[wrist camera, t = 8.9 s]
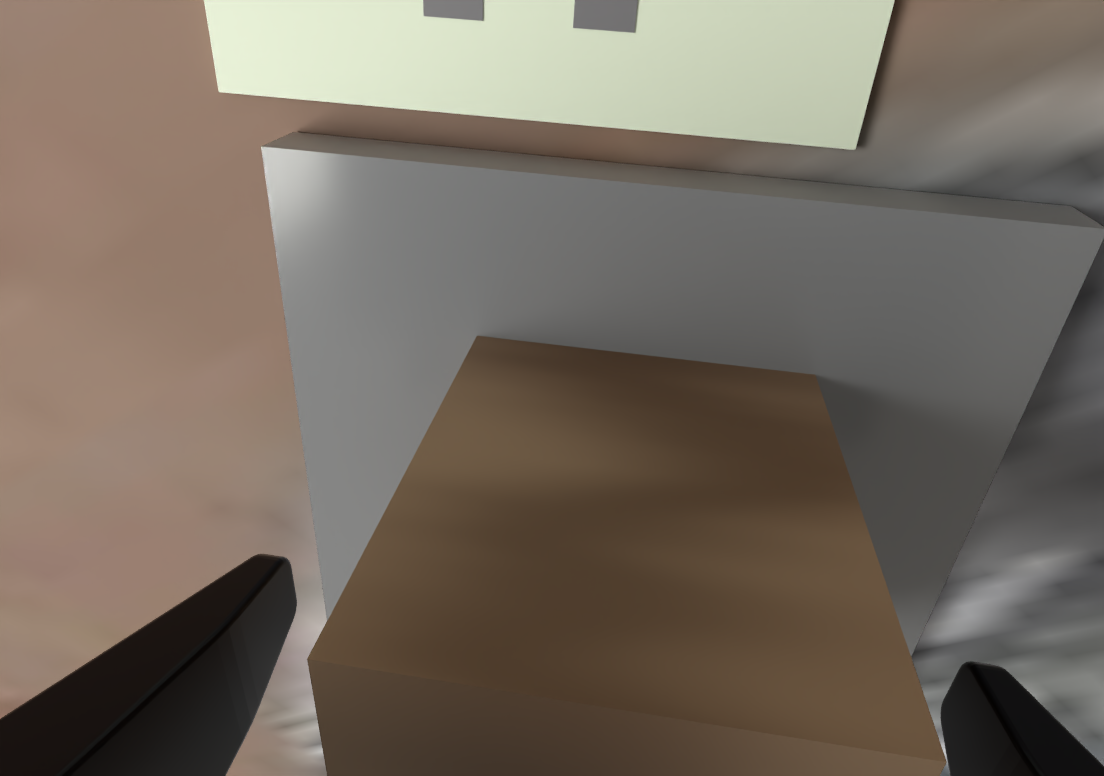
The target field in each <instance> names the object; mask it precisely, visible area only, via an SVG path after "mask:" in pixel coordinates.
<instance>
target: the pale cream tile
mask: <svg viewBox="0 0 1104 776" xmlns="http://www.w3.org/2000/svg"><path fill="white" fill-rule="evenodd" d="M894 1H895V0H204V3H205V9H206V16H207V22H208V28H209V34H210V40H211V46H212V53H213V59H214V65H215V71H216V77H217V84H218V90H219V92H224V93H235V94H246V95H257V96H268V97H279V98H290V99H301V100H312V101H323V102H334V103H345V104H356V105H367V106H378V107H389V108H400V109H411V110H422V111H433V112H444V113H455V114H466V115H477V116H488V117H499V118H510V119H521V120H532V121H543V122H554V123H565V124H576V125H587V126H598V127H609V128H620V129H631V130H642V131H653V132H664V133H675V134H686V135H697V136H708V137H719V138H730V139H741V140H752V141H763V142H774V143H785V144H796V145H807V146H818V147H829V148H840V149H851V150H855V149H856V145H857V142H858V138H859V134H860V130H861V126H862V123H863V119H864V115H865V111H866V108H867V104H868V100H869V96H870V92H871V89H872V85H873V81H874V77H875V73H876V70H877V66H878V62H879V58H880V54H881V51H882V47H883V43H884V39H885V36H886V32H887V28H888V24H889V20H890V17H891V13H892V9H893V5H894Z"/></svg>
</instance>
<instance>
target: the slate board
mask: <svg viewBox="0 0 1104 776" xmlns="http://www.w3.org/2000/svg"><path fill="white" fill-rule="evenodd" d="M261 149H262V156H263V163H264V170H265V177H266V185H267V192H268V199H269V206H270V213H271V221H272V228H273V235H274V242H275V249H276V257H277V264H278V271H279V278H280V285H281V292H282V300H283V307H284V314H285V321H286V328H287V336H288V343H289V350H290V357H291V364H292V372H293V379H294V386H295V393H296V400H297V407H298V415H299V422H300V429H301V436H302V443H303V451H304V458H305V465H306V472H307V479H308V487H309V494H310V501H311V508H312V515H313V522H314V530H315V537H316V544H317V551H318V558H319V566H320V573H321V580H322V587H323V594H324V602H325V609H326V616H327V621H328V619H329V617H330V615H331V613H332V611H333V609H334V607H335V605H336V603H337V602H338V600H339V598H340V596H341V594H342V592H343V590H344V588H345V586H346V584H347V582H348V581H349V579H350V577H351V575H352V573H353V571H354V569H355V567H356V565H357V563H358V561H359V560H360V558H361V556H362V554H363V552H364V550H365V548H366V546H367V544H368V542H369V540H370V539H371V537H372V535H373V533H374V531H375V529H376V527H377V525H378V523H379V521H380V520H381V518H382V516H383V514H384V512H385V510H386V508H387V506H388V504H389V502H390V500H391V499H392V497H393V495H394V493H395V491H396V489H397V487H398V485H399V483H400V481H401V479H402V478H403V476H404V474H405V472H406V470H407V468H408V466H409V464H410V462H411V460H412V459H413V457H414V455H415V453H416V451H417V449H418V447H419V445H420V443H421V441H422V439H423V438H424V436H425V434H426V432H427V430H428V428H429V426H430V424H431V422H432V420H433V418H434V417H435V415H436V413H437V411H438V409H439V407H440V405H441V403H442V401H443V399H444V397H445V396H446V394H447V392H448V390H449V388H450V386H451V384H452V382H453V380H454V378H455V377H456V375H457V373H458V371H459V369H460V367H461V365H462V363H463V361H464V359H465V357H466V356H467V354H468V352H469V350H470V348H471V346H472V344H473V342H474V340H475V338H476V336H484V337H493V338H501V339H510V340H519V341H527V342H536V343H545V344H553V345H562V346H571V347H579V348H588V349H597V350H605V351H614V352H623V353H632V354H640V355H649V356H658V357H666V358H675V359H684V360H692V361H701V362H710V363H718V364H727V365H736V366H744V367H753V368H762V369H770V370H779V371H788V372H796V373H805V374H814V375H816V378H817V381H818V384H819V387H820V390H821V393H822V396H823V399H824V402H825V405H826V408H827V411H828V414H829V416H830V419H831V422H832V425H833V428H834V431H835V434H836V437H837V440H838V443H839V446H840V449H841V452H842V455H843V458H844V461H845V464H846V467H847V470H848V473H849V476H850V478H851V481H852V484H853V487H854V490H855V493H856V496H857V499H858V502H859V505H860V508H861V511H862V514H863V517H864V520H865V523H866V526H867V529H868V532H869V535H870V537H871V540H872V543H873V546H874V549H875V552H876V555H877V558H878V561H879V564H880V567H881V570H882V573H883V576H884V579H885V582H886V585H887V588H888V591H889V594H890V597H891V599H892V602H893V605H894V608H895V611H896V614H897V617H898V620H899V623H900V626H901V629H902V632H903V635H904V638H905V641H906V644H907V647H908V650H909V653H910V656H912V654H913V652H914V650H915V648H916V646H917V643H918V641H919V639H920V637H921V635H922V632H923V630H924V628H925V626H926V624H927V622H928V619H929V617H930V615H931V613H932V611H933V609H934V606H935V604H936V602H937V600H938V598H939V596H940V593H941V591H942V589H943V587H944V585H945V582H946V580H947V578H948V576H949V574H950V572H951V569H952V567H953V565H954V563H955V561H956V559H957V556H958V554H959V552H960V550H961V548H962V546H963V543H964V541H965V539H966V537H967V535H968V532H969V530H970V528H971V526H972V524H973V522H974V519H975V517H976V515H977V513H978V511H979V509H980V506H981V504H982V502H983V500H984V498H985V496H986V493H987V491H988V489H989V487H990V485H991V482H992V480H993V478H994V476H995V474H996V472H997V469H998V467H999V465H1000V463H1001V461H1002V459H1003V456H1004V454H1005V452H1006V450H1007V448H1008V446H1009V443H1010V441H1011V439H1012V437H1013V435H1014V432H1015V430H1016V428H1017V426H1018V424H1019V422H1020V419H1021V417H1022V415H1023V413H1024V411H1025V409H1026V406H1027V404H1028V402H1029V400H1030V398H1031V396H1032V393H1033V391H1034V389H1035V387H1036V385H1037V382H1038V380H1039V378H1040V376H1041V374H1042V372H1043V369H1044V367H1045V365H1046V363H1047V361H1048V359H1049V356H1050V354H1051V352H1052V350H1053V348H1054V346H1055V343H1056V341H1057V339H1058V337H1059V335H1060V332H1061V330H1062V328H1063V326H1064V324H1065V322H1066V319H1067V317H1068V315H1069V313H1070V311H1071V309H1072V306H1073V304H1074V302H1075V300H1076V298H1077V295H1078V293H1079V291H1080V289H1081V287H1082V285H1083V282H1084V280H1085V278H1086V276H1087V274H1088V272H1089V269H1090V267H1091V265H1092V263H1093V261H1094V259H1095V256H1096V254H1097V252H1098V250H1099V248H1100V245H1101V243H1102V241H1103V239H1104V226H1102V225H1100V224H1099V223H1097V222H1096V221H1094V220H1092V219H1091V218H1089V217H1087V216H1086V215H1084V214H1083V213H1081V212H1079V211H1078V210H1076V209H1075V208H1073V207H1071V206H1065V205H1055V204H1044V203H1034V202H1023V201H1013V200H1002V199H992V198H981V197H971V196H960V195H950V194H939V193H929V192H918V191H908V190H897V189H887V188H876V187H866V186H855V185H845V184H834V183H824V182H814V181H803V180H793V179H782V178H772V177H761V176H751V175H740V174H730V173H719V172H709V171H698V170H688V169H677V168H667V167H656V166H646V165H635V164H625V163H614V162H604V161H593V160H583V159H572V158H562V157H551V156H541V155H530V154H520V153H509V152H499V151H488V150H478V149H467V148H457V147H446V146H436V145H425V144H415V143H404V142H394V141H383V140H373V139H362V138H352V137H342V136H331V135H321V134H310V133H300V132H292V133H290V134H288V135H286V136H283V137H281V138H279V139H277V140H275V141H272V142H270V143H268V144H266V145H264V146H261Z"/></svg>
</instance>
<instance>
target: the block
mask: <svg viewBox="0 0 1104 776" xmlns="http://www.w3.org/2000/svg"><path fill="white" fill-rule="evenodd" d="M307 660H308V666H309V672H310V678H311V684H312V689H313V695H314V701H315V707H316V713H317V719H318V724H319V730H320V736H321V742H322V748H323V754H324V759H325V765H326V771H327V776H939V775H940V774H941V772H942V770H943V768H944V766H945V765H946V763H947V762H946V759H945V756H944V753H943V750H942V747H941V744H940V741H939V738H938V735H937V732H936V729H935V726H934V723H933V720H932V718H931V715H930V712H929V709H928V706H927V703H926V700H925V697H924V694H923V691H922V688H921V685H920V682H919V679H918V676H917V673H916V670H915V667H914V664H913V661H912V658H911V656H910V653H909V650H908V647H907V644H906V641H905V638H904V635H903V632H902V629H901V626H900V623H899V620H898V617H897V614H896V611H895V608H894V605H893V602H892V599H891V597H890V594H889V591H888V588H887V585H886V582H885V579H884V576H883V573H882V570H881V567H880V564H879V561H878V558H877V555H876V552H875V549H874V546H873V543H872V540H871V537H870V535H869V532H868V529H867V526H866V523H865V520H864V517H863V514H862V511H861V508H860V505H859V502H858V499H857V496H856V493H855V490H854V487H853V484H852V481H851V478H850V476H849V473H848V470H847V467H846V464H845V461H844V458H843V455H842V452H841V449H840V446H839V443H838V440H837V437H836V434H835V431H834V428H833V425H832V422H831V419H830V416H829V414H828V411H827V408H826V405H825V402H824V399H823V396H822V393H821V390H820V387H819V384H818V381H817V378H816V375H814V374H805V373H796V372H788V371H779V370H770V369H762V368H753V367H744V366H736V365H727V364H718V363H710V362H701V361H692V360H684V359H675V358H666V357H658V356H649V355H640V354H632V353H623V352H614V351H605V350H597V349H588V348H579V347H571V346H562V345H553V344H545V343H536V342H527V341H519V340H510V339H501V338H493V337H484V336H476V338H475V340H474V342H473V344H472V346H471V348H470V350H469V352H468V354H467V356H466V357H465V359H464V361H463V363H462V365H461V367H460V369H459V371H458V373H457V375H456V377H455V378H454V380H453V382H452V384H451V386H450V388H449V390H448V392H447V394H446V396H445V397H444V399H443V401H442V403H441V405H440V407H439V409H438V411H437V413H436V415H435V417H434V418H433V420H432V422H431V424H430V426H429V428H428V430H427V432H426V434H425V436H424V438H423V439H422V441H421V443H420V445H419V447H418V449H417V451H416V453H415V455H414V457H413V459H412V460H411V462H410V464H409V466H408V468H407V470H406V472H405V474H404V476H403V478H402V479H401V481H400V483H399V485H398V487H397V489H396V491H395V493H394V495H393V497H392V499H391V500H390V502H389V504H388V506H387V508H386V510H385V512H384V514H383V516H382V518H381V520H380V521H379V523H378V525H377V527H376V529H375V531H374V533H373V535H372V537H371V539H370V540H369V542H368V544H367V546H366V548H365V550H364V552H363V554H362V556H361V558H360V560H359V561H358V563H357V565H356V567H355V569H354V571H353V573H352V575H351V577H350V579H349V581H348V582H347V584H346V586H345V588H344V590H343V592H342V594H341V596H340V598H339V600H338V602H337V603H336V605H335V607H334V609H333V611H332V613H331V615H330V617H329V619H328V621H327V622H326V624H325V626H324V628H323V630H322V632H321V634H320V636H319V638H318V640H317V642H316V643H315V645H314V647H313V649H312V651H311V653H310V655H309V657H308V659H307Z"/></svg>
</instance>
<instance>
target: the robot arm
mask: <svg viewBox="0 0 1104 776" xmlns="http://www.w3.org/2000/svg"><path fill="white" fill-rule="evenodd" d="M296 606H297V599H296V592H295V587H294V581H293V575H292V569H291V564H290V562H289V560H288V559H287V558H285V557H281V556H274V555H268V554H258V555H255V556H253V557H251V558H250V559H248V560H246V561H245V562H243V563H242V564H240V565H239V566H237V567H236V568H234V569H232V570H231V571H229V572H228V573H226V574H225V575H223V576H222V577H220V578H218V579H217V580H215V581H214V582H212V583H211V584H209V585H208V586H206V587H204V588H203V589H201V590H200V591H198V592H197V593H195V594H194V595H192V596H190V597H189V598H187V599H186V600H184V601H183V602H181V603H180V604H178V605H176V606H175V607H173V608H172V609H170V610H169V611H167V612H166V613H164V614H162V615H161V616H159V617H158V618H156V619H155V620H153V621H152V622H150V623H148V624H147V625H145V626H144V627H142V628H141V629H139V630H138V631H136V632H134V633H133V634H131V635H130V636H128V637H127V638H125V639H124V640H122V641H120V642H119V643H117V644H116V645H114V646H113V647H111V648H110V649H108V650H106V651H105V652H103V653H102V654H100V655H99V656H97V657H96V658H94V659H92V660H91V661H89V662H88V663H86V664H85V665H83V666H82V667H80V668H78V669H77V670H75V671H74V672H72V673H71V674H69V675H68V676H66V677H64V678H63V679H61V680H60V681H58V682H57V683H55V684H54V685H52V686H50V687H49V688H47V689H46V690H44V691H43V692H41V693H40V694H38V695H36V696H35V697H33V698H32V699H30V700H29V701H27V702H26V703H24V704H22V705H21V706H19V707H18V708H16V709H15V710H13V711H12V712H10V713H8V714H7V715H5V716H4V717H2V718H1V719H0V776H226V774H227V772H228V770H229V768H230V766H231V764H232V762H233V760H234V758H235V756H236V754H237V752H238V751H239V749H240V747H241V745H242V743H243V741H244V739H245V737H246V735H247V733H248V731H249V729H250V727H251V725H252V722H253V720H254V718H255V715H256V713H257V710H258V708H259V706H260V703H261V701H262V698H263V695H264V693H265V690H266V688H267V685H268V683H269V680H270V678H271V675H272V673H273V670H274V667H275V665H276V662H277V660H278V657H279V655H280V652H281V650H282V647H283V645H284V642H285V639H286V637H287V634H288V632H289V629H290V627H291V624H292V622H293V619H294V616H295V612H296ZM941 725H942V731H943V737H944V743H945V748H946V754H947V760H948V766H949V772H950V776H1104V766H1103V765H1102V764H1101V763H1100V762H1099V761H1098V760H1097V759H1096V758H1095V757H1094V756H1093V755H1092V754H1091V753H1090V752H1089V751H1088V750H1087V749H1086V748H1085V747H1084V746H1083V745H1082V744H1081V743H1080V742H1079V741H1078V740H1077V739H1076V738H1075V737H1074V736H1073V735H1072V734H1071V733H1070V732H1069V731H1068V730H1067V729H1066V728H1065V727H1064V726H1063V725H1062V724H1061V723H1060V722H1059V721H1058V720H1057V719H1055V718H1054V717H1053V716H1052V715H1051V714H1050V713H1049V712H1048V711H1047V710H1046V709H1045V708H1044V707H1043V706H1042V705H1041V704H1040V703H1039V702H1038V701H1037V700H1036V699H1035V698H1034V697H1033V696H1032V695H1031V694H1030V693H1029V692H1028V691H1027V690H1026V689H1025V688H1024V687H1023V686H1022V685H1021V684H1020V683H1019V682H1018V681H1017V680H1016V679H1015V678H1014V677H1013V676H1012V675H1011V674H1010V673H1009V672H1007V671H1006V670H1005V669H1003V668H1002V667H1000V666H997V665H991V664H985V663H978V662H966V663H964V664H963V665H962V666H961V667H960V669H959V671H958V673H957V675H956V677H955V679H954V681H953V683H952V684H951V686H950V688H949V690H948V692H947V694H946V696H945V698H944V700H943V703H942V707H941Z"/></svg>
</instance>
